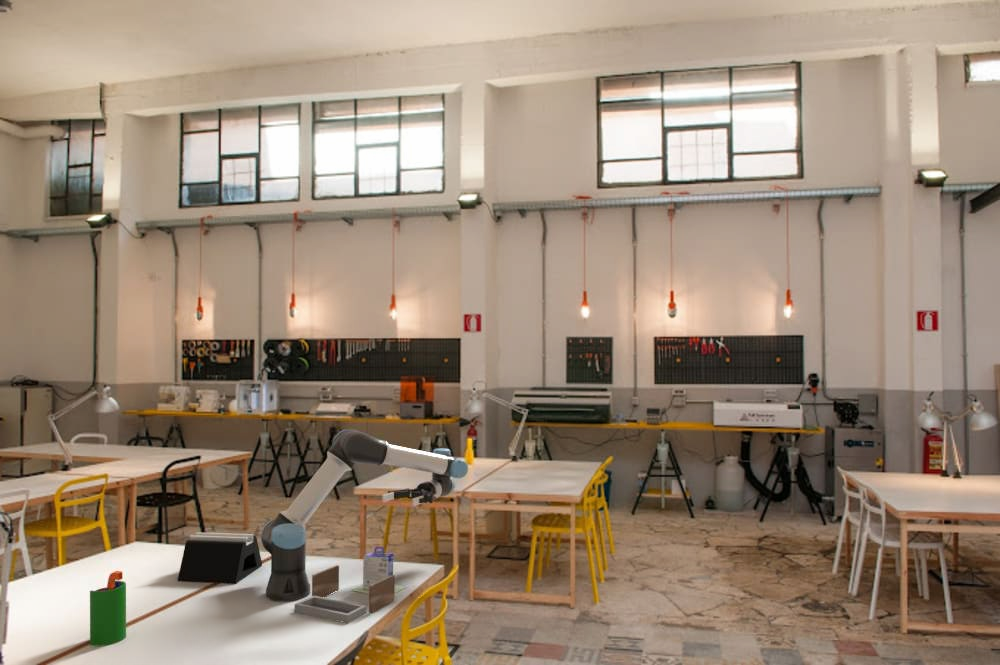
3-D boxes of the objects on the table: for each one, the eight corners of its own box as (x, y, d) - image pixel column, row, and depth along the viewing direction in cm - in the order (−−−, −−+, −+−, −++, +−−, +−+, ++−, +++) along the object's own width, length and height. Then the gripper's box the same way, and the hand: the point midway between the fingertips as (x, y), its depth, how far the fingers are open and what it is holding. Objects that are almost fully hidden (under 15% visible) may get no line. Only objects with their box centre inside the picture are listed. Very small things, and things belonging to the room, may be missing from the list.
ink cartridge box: (394, 586, 270) (394, 546, 270) (388, 591, 264) (388, 550, 264) (368, 585, 272) (368, 545, 272) (362, 589, 266) (362, 549, 266)
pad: (350, 590, 266) (350, 589, 266) (370, 581, 277) (370, 580, 277) (387, 597, 259) (387, 596, 259) (406, 587, 269) (406, 587, 269)
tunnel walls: (311, 601, 255) (312, 575, 255) (336, 590, 266) (336, 565, 266) (371, 613, 243) (371, 586, 244) (394, 601, 255) (394, 575, 255)
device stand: (208, 564, 298) (208, 526, 298) (262, 566, 295) (262, 528, 296) (177, 582, 276) (178, 541, 276) (235, 584, 273) (236, 543, 273)
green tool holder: (101, 632, 226) (102, 566, 227) (131, 632, 227) (132, 566, 227) (85, 646, 216) (86, 577, 217) (117, 645, 217) (118, 576, 217)
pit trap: (294, 611, 245) (294, 604, 245) (313, 602, 253) (313, 595, 253) (348, 623, 235) (348, 615, 235) (366, 613, 243) (366, 606, 243)
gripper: (455, 503, 292) (426, 514, 273) (402, 497, 303) (370, 507, 284) (455, 484, 292) (426, 493, 273) (402, 478, 303) (371, 487, 284)
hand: (397, 500), depth 279 cm, fingers open, 13 cm apart
